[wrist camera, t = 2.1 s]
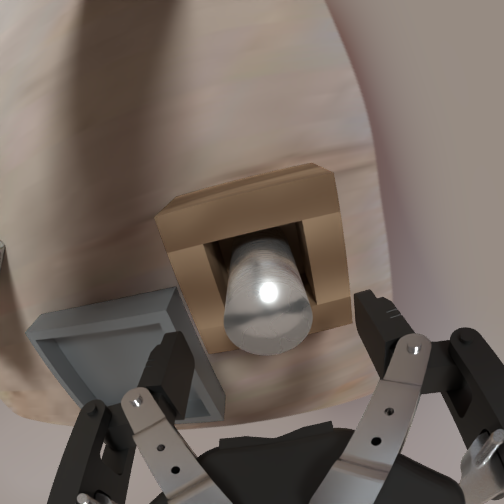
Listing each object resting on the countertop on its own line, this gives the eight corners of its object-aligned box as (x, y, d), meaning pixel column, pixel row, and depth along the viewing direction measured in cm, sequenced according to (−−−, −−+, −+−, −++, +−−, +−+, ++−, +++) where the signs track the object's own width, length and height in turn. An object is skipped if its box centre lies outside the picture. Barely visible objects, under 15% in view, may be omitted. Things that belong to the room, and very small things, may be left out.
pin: (225, 228, 21) (212, 295, 12) (281, 215, 20) (305, 274, 12) (240, 278, 22) (237, 361, 14) (292, 266, 22) (317, 345, 13)
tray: (41, 314, 25) (24, 332, 22) (176, 286, 23) (166, 310, 20) (101, 402, 30) (92, 421, 27) (225, 395, 29) (223, 420, 25)
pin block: (176, 196, 21) (154, 217, 16) (312, 162, 20) (333, 172, 15) (215, 310, 24) (208, 354, 19) (332, 284, 24) (352, 323, 18)
